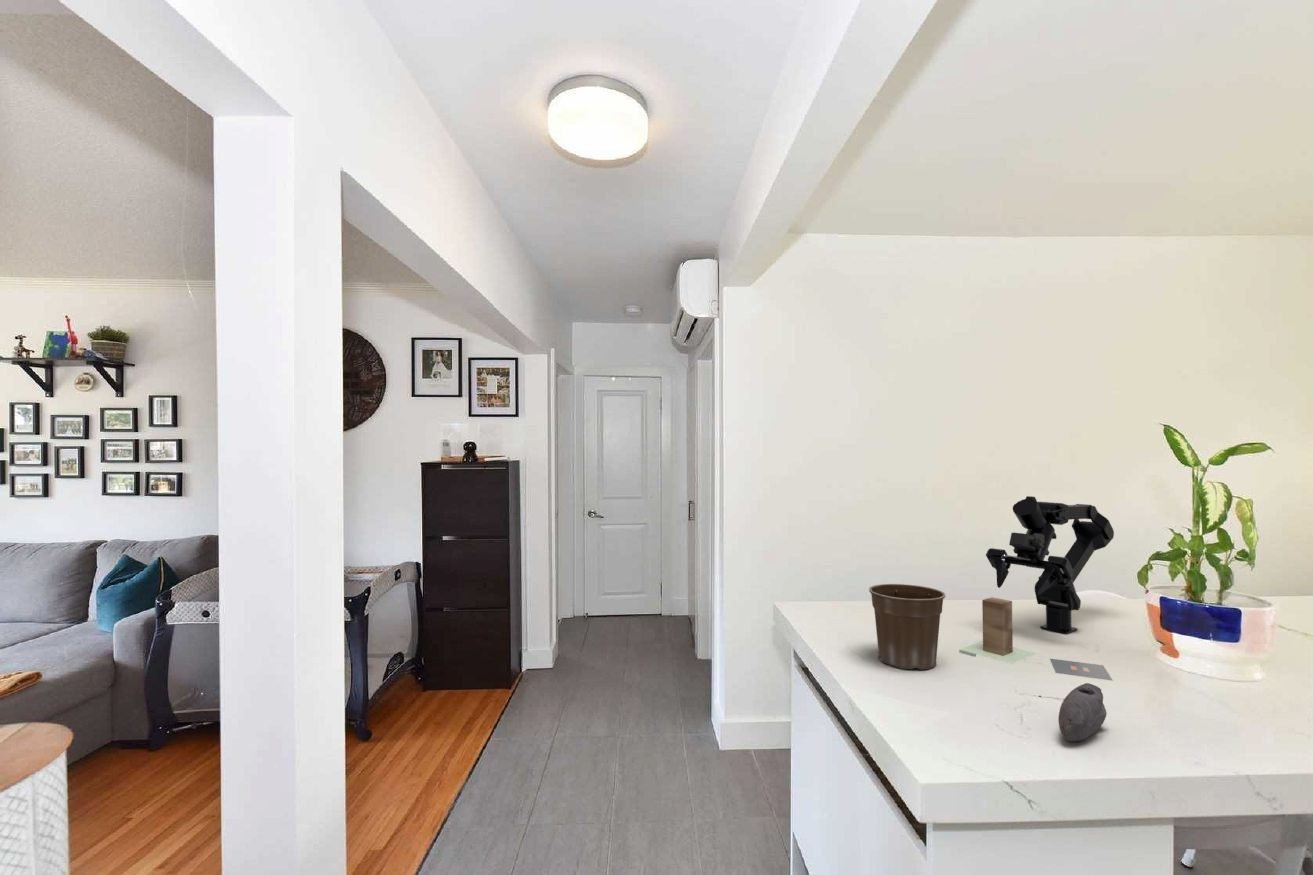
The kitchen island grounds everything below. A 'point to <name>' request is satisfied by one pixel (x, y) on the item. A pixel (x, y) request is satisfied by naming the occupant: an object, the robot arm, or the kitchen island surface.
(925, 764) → the kitchen island surface
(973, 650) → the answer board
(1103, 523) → the robot arm
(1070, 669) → the plate
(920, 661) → the plant pot
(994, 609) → the walnut post
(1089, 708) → the perforated stone tool
